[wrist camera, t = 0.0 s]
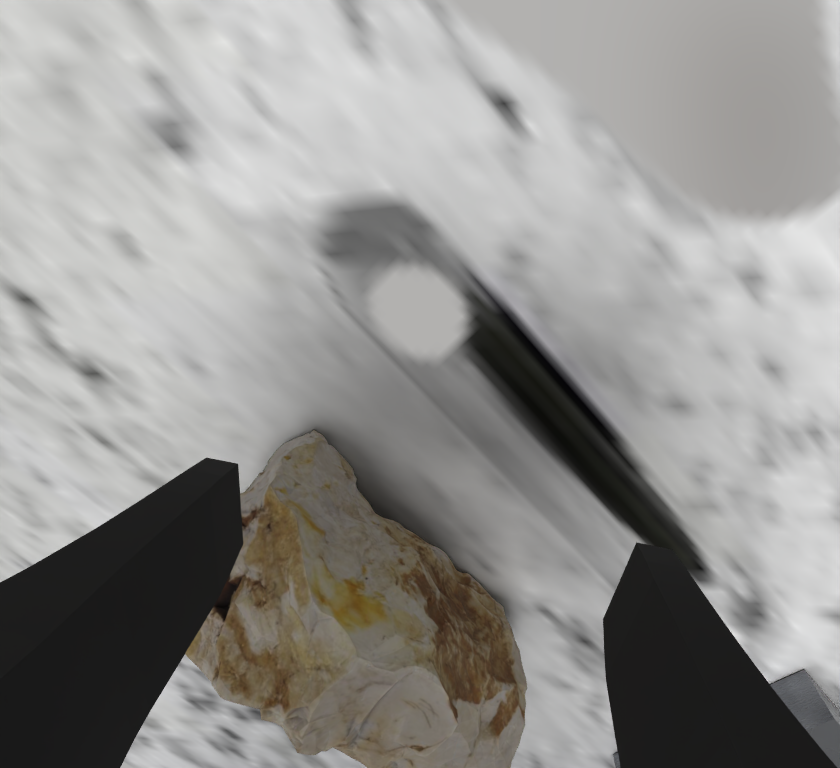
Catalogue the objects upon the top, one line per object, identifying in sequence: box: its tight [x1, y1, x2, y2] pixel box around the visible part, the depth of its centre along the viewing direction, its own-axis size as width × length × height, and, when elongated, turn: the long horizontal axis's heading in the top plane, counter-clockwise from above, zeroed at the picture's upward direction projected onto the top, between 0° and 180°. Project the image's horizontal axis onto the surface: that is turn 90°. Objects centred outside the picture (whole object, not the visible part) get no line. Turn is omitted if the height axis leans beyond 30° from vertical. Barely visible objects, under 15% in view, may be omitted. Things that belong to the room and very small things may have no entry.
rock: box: [185, 430, 527, 768], centre depth 20 cm, size 12×7×10 cm, turn 43°
